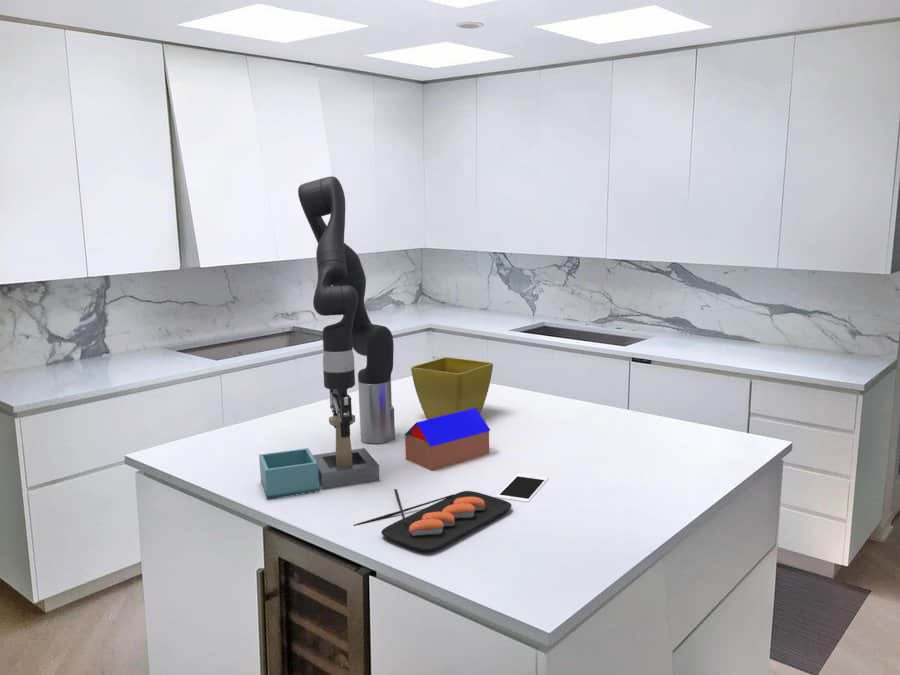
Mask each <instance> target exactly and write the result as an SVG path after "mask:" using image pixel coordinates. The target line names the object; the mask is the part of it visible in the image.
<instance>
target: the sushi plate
mask: <svg viewBox="0 0 900 675" xmlns="http://www.w3.org/2000/svg"><path fill="white" fill-rule="evenodd" d="M393 491H394V494H395V495H394V496H395V497H396V501H397V504H398V507H399V509H400V510H398V511H394V512H391V513H387V514H384V515H381V516H377V517H375V518H371V519H368V520H365V521H362V522H358V523H355V524H353V527H356V526H359V525H360V526H361V525H363V524H369V523H373V522H377V521H381V520H384V519H387V518H390V517H392V516H396V515H399V514H401V516H402V519H400V520H397V521H395V522H393V523H391V524H389V525H387V526H385V527H384V528H383V529H382V530H381V531H380V532H381V534H382V536H383V537H384V538H387V539H388V540H391V541H393V542H396V543H399V544H401V545H404V546H405V547H409V548H412V549H415V550H418V551H423V552H430V551H434V550H438V549H439V548H441V547H443V546H446V545H447V544H449V543H451V542H453V541H455V540H457V539H458V538H460V537H463V536H464V535H466V534H468V533H470V532H471V531H473V530H475V529H477V528H479V527H481V526H482V525H485V524H486V523H488V522H490V521H491V520H494V519H495V518H498V517H499V516H501V515H503V514H504V513H506V512H508V511H509V510H511V508H512V504H511V503H510V502H509V501H507V500H506V499H501V498H496V496H493V495H492V496H491V495H487V494H485V493H482V492H477V491H473V490H464V491H460V492H457V493H455V494H449V495H446V496H444V497H441V498H436V499H434V500H430V501H427V502H424V503H421V504H418V505H415V506H410V507H407V508H404V509H403V507H402V503H401V500H400V496H399V492H398V489H397V488H394V489H393ZM429 504H431V505H429ZM426 505H428V506H427V507H425V508H422V509H421V510H418V511H416V512H414V513H411V514H410V515H407V516H406V517H405V512H407V511H412V510H413V509H417V508H420V507H423V506H426Z"/></svg>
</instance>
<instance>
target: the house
mask: <svg viewBox="0 0 900 675" xmlns="http://www.w3.org/2000/svg"><path fill="white" fill-rule="evenodd" d="M490 431H491V428H490V427H489V426H488V424H487V423H486V421H485V420H484V418H483V417H482V415H481V414H480V413H479V412H478V410H477V409H476V408H473V409H469V410H465V411H461V412H456V413H452V414H448V415H444V416H440V417H436V418H432V419H428V418H427V419H425V420H421V421H416V422H415V423H414V424H413V426H411V428H409V429H408V430H407V431H406V432H405V433H404V435H403V437H404V438H405V439H404V443H405V444H404V445H405V460H406V461H409V462H410V463H413V464H416V465H418V466H420V467H423V468H425V469H427V470H430V471H436V470H438V469H443V468H446V467H450V466H452V465H455V464H459V463H462V462H466V461H469V460H472V459H475V458H476V459H477V458H480V457H482V456H486V455H489V454H490Z"/></svg>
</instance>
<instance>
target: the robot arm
mask: <svg viewBox="0 0 900 675" xmlns="http://www.w3.org/2000/svg"><path fill="white" fill-rule="evenodd" d="M297 194H298V199H299V204H300V205H301V208H302V211H303V213H304V215H305V217H306V220H307V222H308V224H309V226H310V228H311V231H312V233H313V236H314V238H315V241H316V242H317V247H316V254H315V255H316V264H317V265H316V267H317V282H316V287H315V291H314V293H313V294H314V295H313V301H312V303H313V304H312V305H313V308H314V310H315V312H316V314H318V315H319V316H321V317H322V316H323V317H325V316H326V317H328V316H342V318H341V319H340V321H339V322H335V323H333V324H332V323H331V324H329V325H326V326H324V327H323V329H322V348H323V353H322V354H323V355H322V370H323V371H322V372H323V386H324V388H325V389H327V390H329V401H330V402H329V404H330V405H329V408H330V409H331V413H332V416H336V415H339V421H340V433H341V437H342V438H344V437H349V436H350V437H351V425H350V421H352V415H353V413H352V412H353V410H352V397H351V395H350V394H348V390H349V389H352V388H354V387H355V385H356V376H355V375H356V373H355V370H356V369H355V357H354V351H355V353H357V354H358V355H361V356H364V357H366V366H365V367H364V368H362V369H360V370H359V371H358V373H357V382H358V386H357V388H358V404H359V405H358V406H359V428H360V431H359V432H360V441H361V442H363V443H365V444H384V443H387V442H390V441H394V440H396V429H395V428H396V426H395V407H394V406H393V404H392V403H393V402H392V401H393V400H392V379H391V378H392V372H393V369H394V348H395V347H394V346H395V345H394V337H393V334H392V332H391V330H390V328H388V327H387V326H385V325H380V324H373V323H372V322H371V319H370V317H369V315H368V312H367V309H366V305H365V294H366V290H367V288H366V287H367V277H366V274H365V270H364V268H363V265H362V262H361V260H360V257H359V255H358V254H357V252H356V251H355V250H354V249H353V248H351V246H349V245H348V244H346V243H345V232H346V231H345V228H346V227H345V226H346V197H345V196H346V195H345V192H344V189H343V186H342V183H341V182H340V180H339V179H338V178H337V177H336V176H332V175H331V176H326V177H323V178H322V177H321V178H318V179H314V180H312V181H309V182H305V183H301V184H300V185H299V186H298V189H297ZM328 215H330V216H329V219H328V223H327V224H326V222H325V220H324V219H323V217H324V216H325V217H326V216H328ZM344 414H347V417H344ZM333 428H334V429H336V428H335V426H333Z"/></svg>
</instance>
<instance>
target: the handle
mask: <svg viewBox="0 0 900 675" xmlns="http://www.w3.org/2000/svg"><path fill="white" fill-rule="evenodd" d="M344 417H347V414H344ZM328 423H329V425H331V426H333V427H334V426H335V428H334V429H335V452H336V463H337V468H338V467H345V466H351V465H352V450H353V449H352V442H351V441H352V440H351V435H350V436H349V437H344V438H342V437H341V433H340V421H339V415H336V416H333V415H332V416H329V417H328ZM354 423H356V415H354V414H352V421H350V426H351V425H353V424H354Z"/></svg>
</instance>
